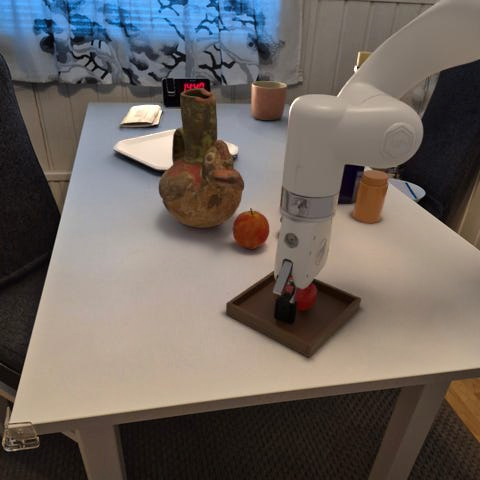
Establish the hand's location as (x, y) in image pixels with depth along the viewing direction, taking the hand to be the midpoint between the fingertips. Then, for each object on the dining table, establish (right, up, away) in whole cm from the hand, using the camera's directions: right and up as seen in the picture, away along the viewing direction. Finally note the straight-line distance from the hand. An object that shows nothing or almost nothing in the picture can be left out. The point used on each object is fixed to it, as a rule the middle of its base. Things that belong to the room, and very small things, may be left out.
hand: (293, 307), depth 70 cm
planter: (+1, +72, +92) cm, 117 cm away
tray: (0, -1, +1) cm, 1 cm away
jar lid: (0, +3, -2) cm, 3 cm away
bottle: (+16, +28, +37) cm, 49 cm away
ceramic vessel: (-16, +18, +23) cm, 34 cm away
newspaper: (-42, +68, +85) cm, 117 cm away
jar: (+20, +21, +29) cm, 41 cm away
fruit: (-7, +12, +17) cm, 22 cm away
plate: (-26, +45, +57) cm, 77 cm away
